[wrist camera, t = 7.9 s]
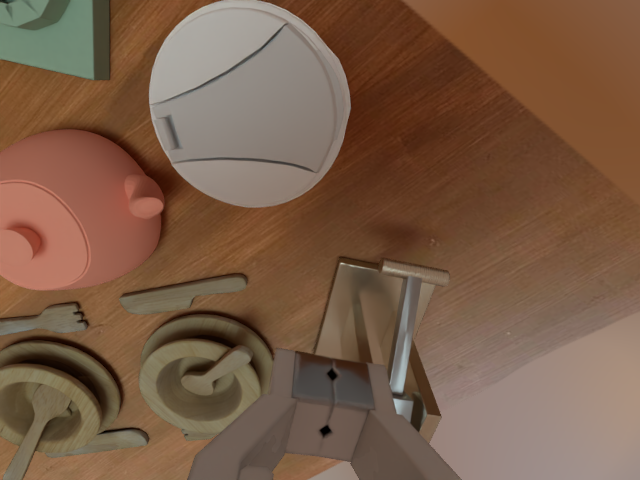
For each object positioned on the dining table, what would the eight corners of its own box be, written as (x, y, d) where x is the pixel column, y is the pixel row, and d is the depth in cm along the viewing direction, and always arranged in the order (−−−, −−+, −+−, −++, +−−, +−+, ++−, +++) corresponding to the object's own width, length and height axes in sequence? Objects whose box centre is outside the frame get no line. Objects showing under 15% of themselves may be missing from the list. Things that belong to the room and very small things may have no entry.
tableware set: (249, 270, 34) (235, 307, 28) (295, 422, 42) (291, 474, 36) (-49, 322, 36) (-115, 366, 30) (47, 458, 44) (9, 512, 38)
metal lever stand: (339, 256, 33) (351, 352, 22) (433, 275, 34) (495, 377, 22) (311, 359, 38) (309, 484, 26) (395, 373, 39) (429, 501, 27)
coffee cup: (242, 162, 30) (179, 234, 16) (209, 51, 27) (96, 21, 13) (344, 141, 29) (368, 196, 16) (323, 24, 26) (331, -37, 12)
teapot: (-35, 156, 30) (-182, 188, 21) (175, 95, 28) (111, 102, 19) (46, 284, 34) (-46, 354, 26) (230, 238, 33) (199, 296, 24)
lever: (377, 257, 28) (386, 257, 26) (440, 270, 28) (455, 270, 26) (348, 420, 27) (355, 435, 25) (414, 430, 27) (427, 446, 25)
